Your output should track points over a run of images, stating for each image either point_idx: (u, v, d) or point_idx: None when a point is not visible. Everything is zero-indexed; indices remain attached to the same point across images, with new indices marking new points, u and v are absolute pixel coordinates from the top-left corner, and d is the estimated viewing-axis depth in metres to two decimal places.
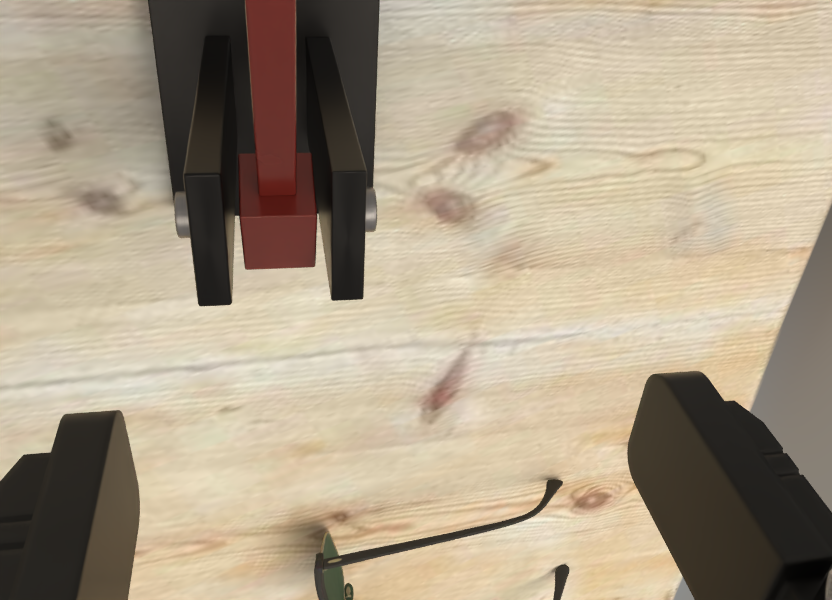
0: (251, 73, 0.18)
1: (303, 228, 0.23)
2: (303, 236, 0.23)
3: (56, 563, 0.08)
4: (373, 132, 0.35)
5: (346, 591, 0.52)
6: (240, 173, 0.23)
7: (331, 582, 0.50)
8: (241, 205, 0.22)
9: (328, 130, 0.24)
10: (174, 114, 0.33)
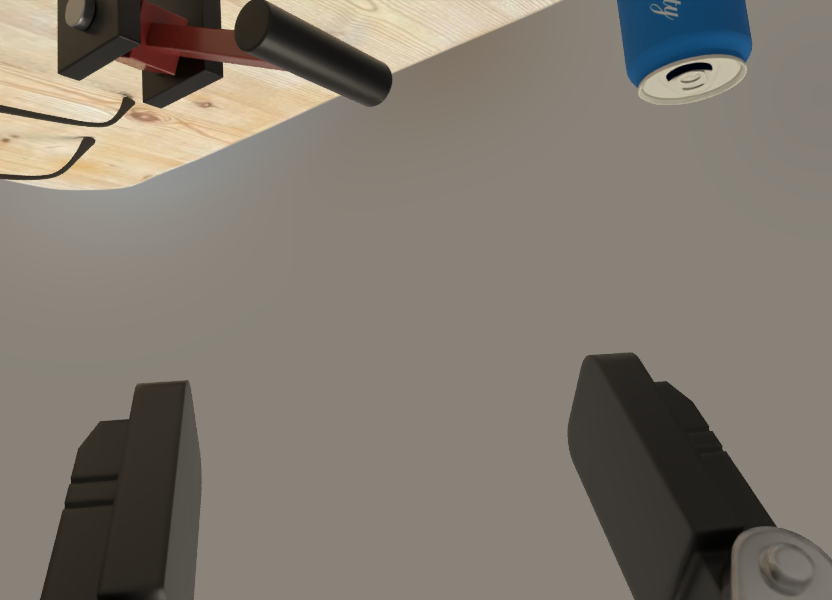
0: (217, 55, 0.29)
1: (159, 71, 0.33)
2: (154, 70, 0.33)
3: (146, 516, 0.09)
4: None
5: None
6: None
7: None
8: None
9: (205, 8, 0.33)
10: None
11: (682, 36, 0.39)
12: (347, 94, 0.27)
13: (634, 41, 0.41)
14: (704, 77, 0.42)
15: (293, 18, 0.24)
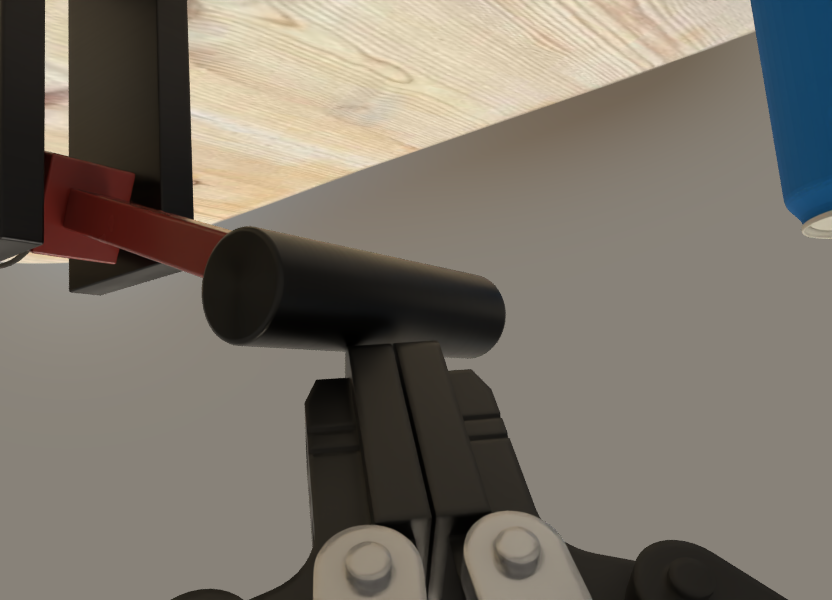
0: (178, 268, 0.16)
1: None
2: None
3: (396, 458, 0.10)
4: None
5: None
6: (48, 186, 0.18)
7: None
8: None
9: (164, 154, 0.20)
10: None
11: None
12: None
13: (805, 160, 0.28)
14: None
15: (328, 259, 0.11)
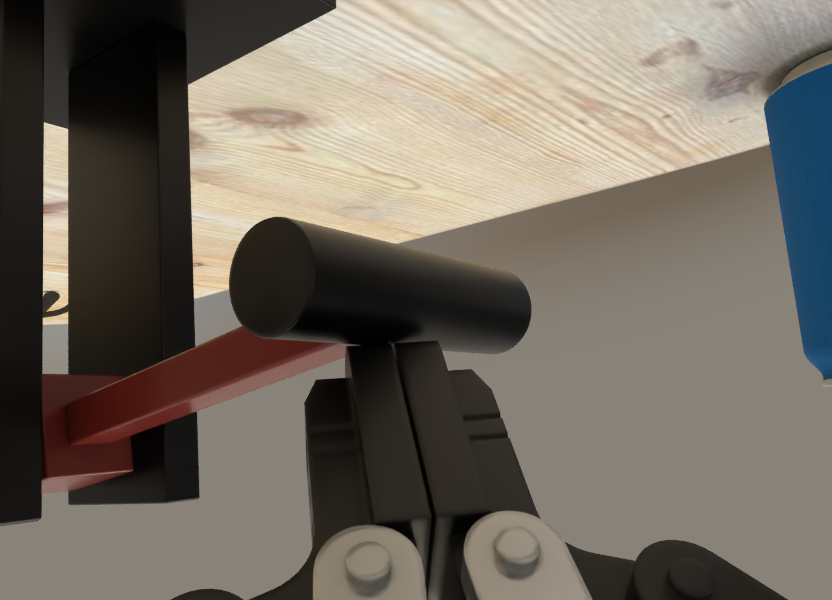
0: (199, 395, 0.15)
1: (106, 477, 0.19)
2: (96, 480, 0.19)
3: (395, 458, 0.10)
4: None
5: None
6: (43, 407, 0.18)
7: None
8: (47, 459, 0.17)
9: None
10: None
11: None
12: (473, 342, 0.14)
13: (827, 322, 0.27)
14: None
15: (342, 232, 0.11)
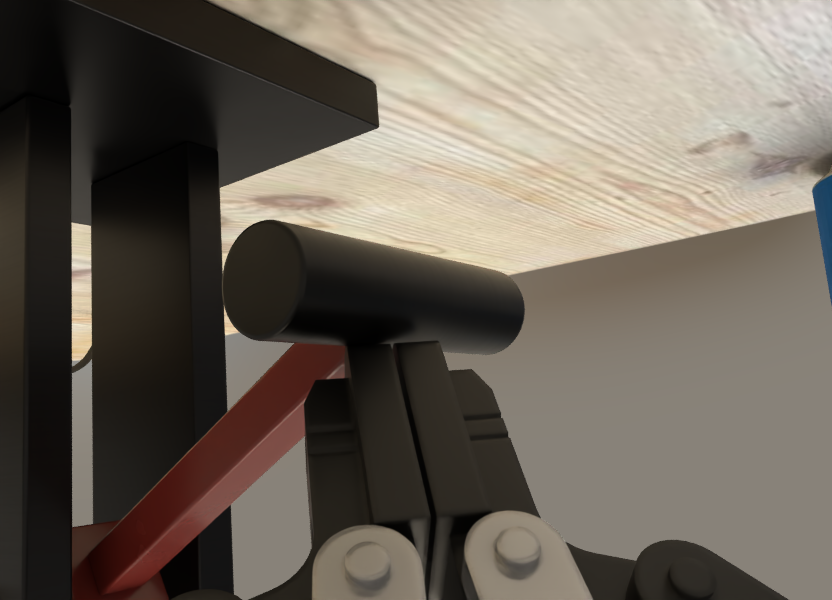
0: (222, 478, 0.14)
1: None
2: None
3: (395, 458, 0.10)
4: None
5: None
6: None
7: None
8: None
9: (203, 542, 0.18)
10: None
11: None
12: (477, 331, 0.14)
13: None
14: None
15: None
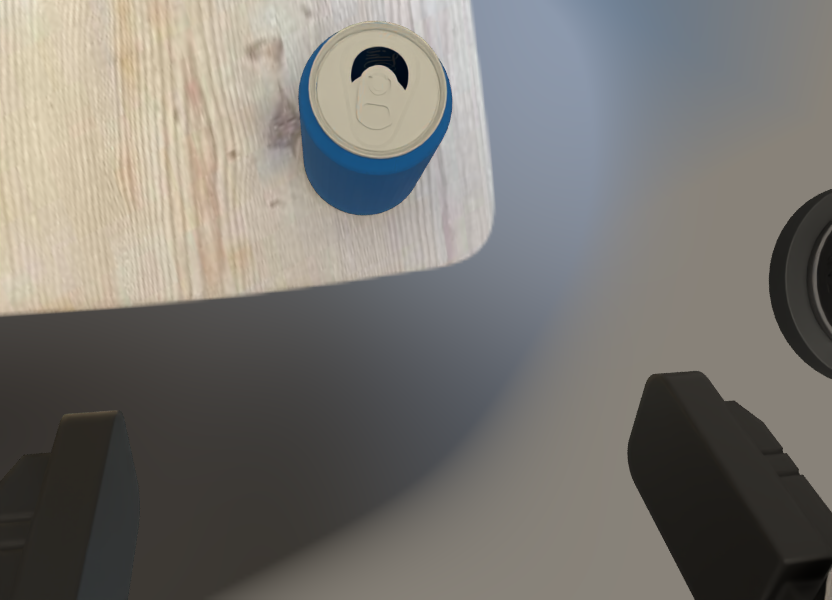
0: None
1: None
2: None
3: (56, 563, 0.08)
4: None
5: None
6: None
7: None
8: None
9: None
10: None
11: None
12: None
13: None
14: (394, 95, 0.32)
15: None
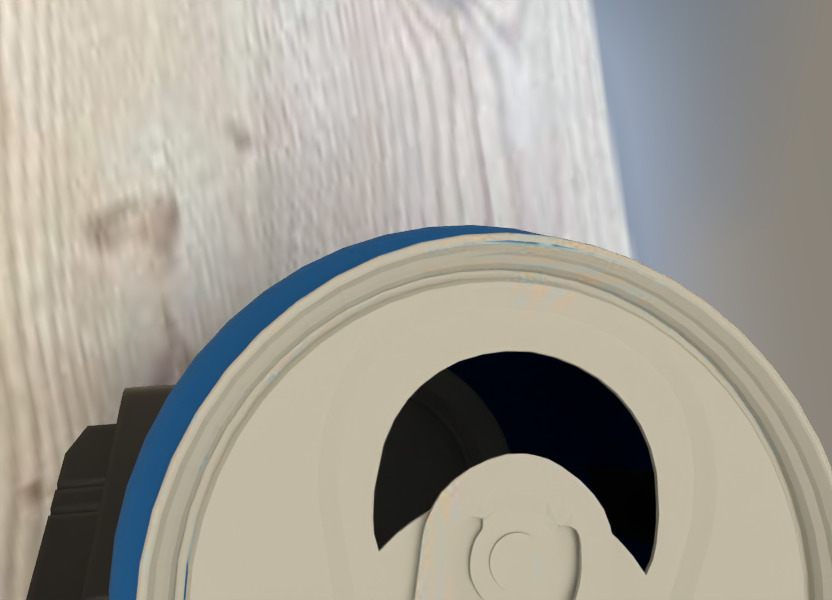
0: None
1: None
2: None
3: None
4: None
5: None
6: None
7: None
8: None
9: None
10: None
11: (523, 231, 0.08)
12: None
13: None
14: None
15: None
